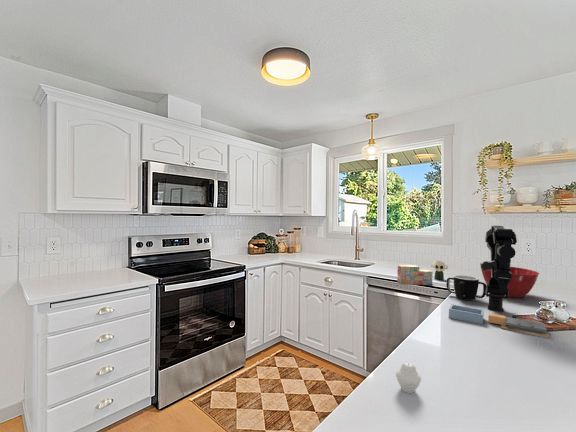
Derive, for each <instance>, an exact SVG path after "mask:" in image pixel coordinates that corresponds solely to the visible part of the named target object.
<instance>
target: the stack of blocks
mask: <svg viewBox="0 0 576 432" xmlns="http://www.w3.org/2000/svg"><path fill="white" fill-rule="evenodd" d="M433 279H434V278H433V271H432V270H430V269H420V266H418V265H414V264H397V284H399V285H410V286H411V285H412V286H414V285H415V286H419V285H420V286H433Z"/></svg>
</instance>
